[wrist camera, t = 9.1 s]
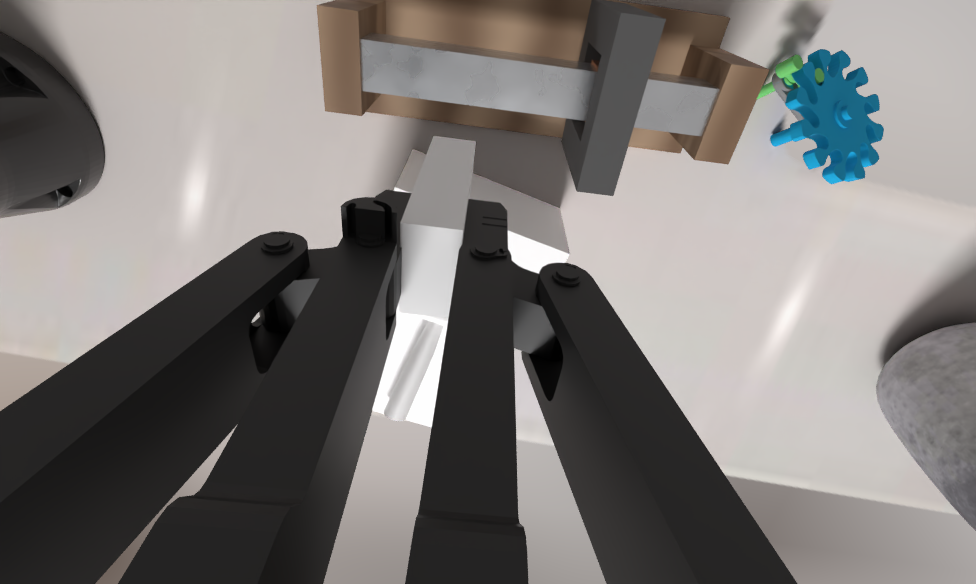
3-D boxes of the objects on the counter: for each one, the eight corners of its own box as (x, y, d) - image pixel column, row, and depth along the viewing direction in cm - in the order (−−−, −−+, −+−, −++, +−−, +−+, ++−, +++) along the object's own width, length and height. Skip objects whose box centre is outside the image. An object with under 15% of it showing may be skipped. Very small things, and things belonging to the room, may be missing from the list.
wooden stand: (359, 107, 39) (327, 141, 32) (354, -39, 33) (313, -37, 26) (678, 149, 40) (716, 191, 33) (727, 16, 35) (785, 32, 27)
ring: (561, 141, 38) (576, 191, 30) (591, -2, 32) (621, 12, 24) (590, 145, 38) (613, 195, 30) (625, 3, 33) (666, 19, 24)
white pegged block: (559, 206, 44) (573, 270, 35) (465, 377, 58) (458, 453, 49) (413, 147, 41) (388, 200, 32) (351, 342, 55) (321, 416, 46)
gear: (907, 115, 37) (864, 207, 34) (827, 142, 42) (785, 223, 39) (831, 4, 34) (777, 93, 31) (756, 48, 39) (704, 128, 36)
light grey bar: (356, 81, 33) (342, 92, 30) (354, 25, 31) (339, 32, 28) (701, 127, 34) (718, 142, 31) (720, 77, 32) (740, 89, 29)
